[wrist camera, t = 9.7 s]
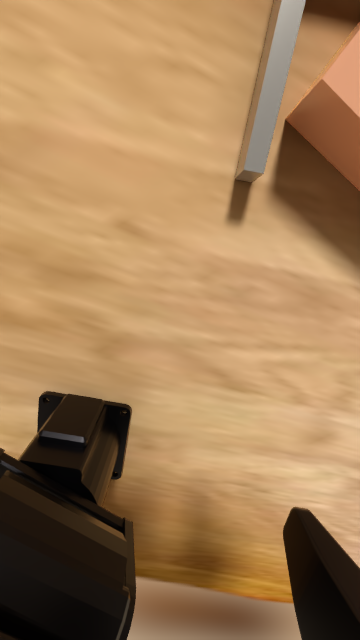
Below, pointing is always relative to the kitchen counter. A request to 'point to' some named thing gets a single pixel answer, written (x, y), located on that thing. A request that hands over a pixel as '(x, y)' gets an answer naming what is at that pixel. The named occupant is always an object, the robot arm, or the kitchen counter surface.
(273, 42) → the grey u-shaped bracket
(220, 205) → the kitchen counter surface
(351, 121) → the salmon pink block
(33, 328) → the kitchen counter surface
